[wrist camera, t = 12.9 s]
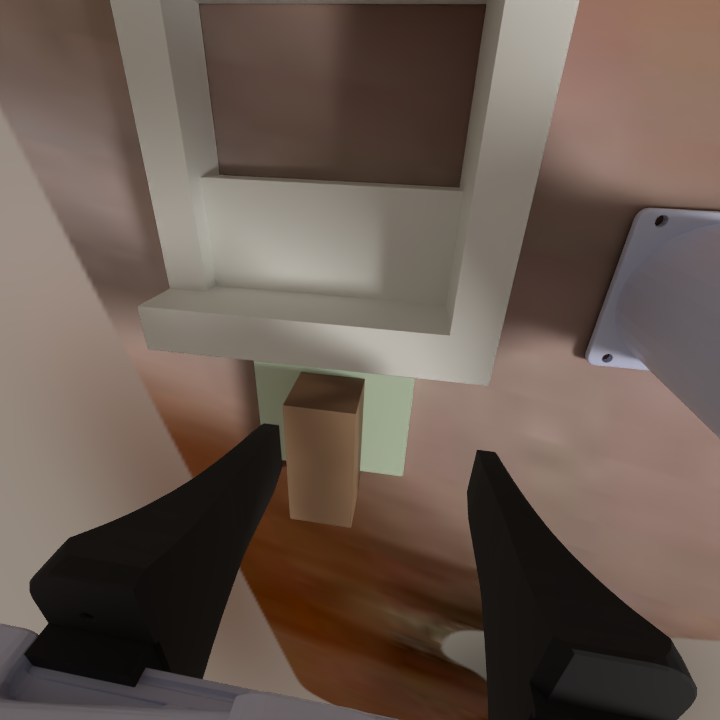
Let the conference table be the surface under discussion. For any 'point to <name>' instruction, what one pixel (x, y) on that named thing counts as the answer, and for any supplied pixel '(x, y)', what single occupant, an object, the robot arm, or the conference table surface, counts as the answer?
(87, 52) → the conference table surface
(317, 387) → the bar
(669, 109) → the conference table surface
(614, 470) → the conference table surface
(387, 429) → the pad
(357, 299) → the frame
